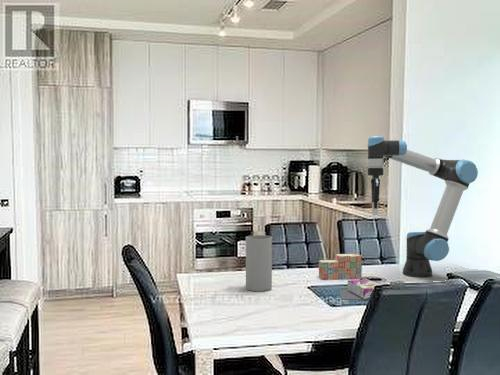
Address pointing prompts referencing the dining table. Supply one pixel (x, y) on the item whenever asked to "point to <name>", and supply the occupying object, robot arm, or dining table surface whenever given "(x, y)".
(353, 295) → the mat
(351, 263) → the stack of blocks
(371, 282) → the candy bar box
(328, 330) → the dining table surface
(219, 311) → the dining table surface
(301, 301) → the dining table surface
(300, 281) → the dining table surface
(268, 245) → the cylinder vase
